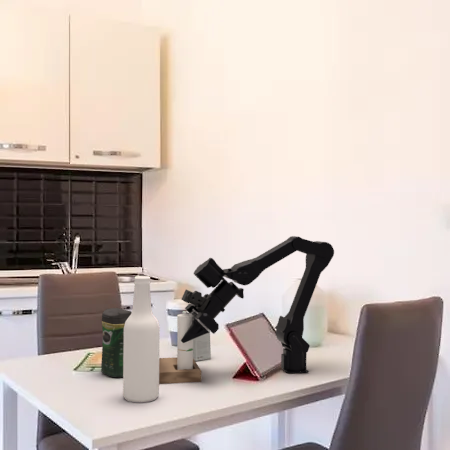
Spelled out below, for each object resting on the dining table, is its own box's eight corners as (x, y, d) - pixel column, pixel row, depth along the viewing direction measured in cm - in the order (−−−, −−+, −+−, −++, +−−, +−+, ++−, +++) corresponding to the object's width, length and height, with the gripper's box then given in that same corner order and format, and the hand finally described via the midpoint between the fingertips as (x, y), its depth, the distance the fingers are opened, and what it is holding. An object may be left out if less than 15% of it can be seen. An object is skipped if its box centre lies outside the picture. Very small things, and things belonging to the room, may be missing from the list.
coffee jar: (138, 375, 165) (139, 309, 165) (113, 380, 160) (114, 312, 160) (121, 368, 173) (121, 305, 172) (96, 372, 168) (97, 307, 167)
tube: (177, 371, 161) (177, 316, 161) (177, 367, 165) (177, 314, 165) (193, 370, 162) (193, 316, 161) (192, 366, 166) (192, 313, 166)
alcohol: (128, 405, 139) (129, 278, 139) (119, 394, 147) (120, 275, 147) (163, 400, 143) (164, 277, 142) (153, 390, 151) (154, 274, 150)
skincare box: (211, 359, 185) (211, 312, 184) (194, 361, 181) (195, 313, 181) (197, 353, 192) (197, 308, 191) (181, 356, 188) (181, 310, 188)
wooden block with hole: (192, 366, 175) (192, 356, 175) (201, 381, 159) (201, 370, 159) (145, 368, 172) (145, 358, 172) (149, 384, 156) (149, 373, 156)
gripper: (191, 276, 173) (154, 315, 170) (206, 283, 155) (165, 327, 152) (217, 301, 175) (181, 340, 173) (235, 311, 157) (195, 355, 155)
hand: (180, 340), depth 163 cm, fingers closed on tube, 4 cm apart
